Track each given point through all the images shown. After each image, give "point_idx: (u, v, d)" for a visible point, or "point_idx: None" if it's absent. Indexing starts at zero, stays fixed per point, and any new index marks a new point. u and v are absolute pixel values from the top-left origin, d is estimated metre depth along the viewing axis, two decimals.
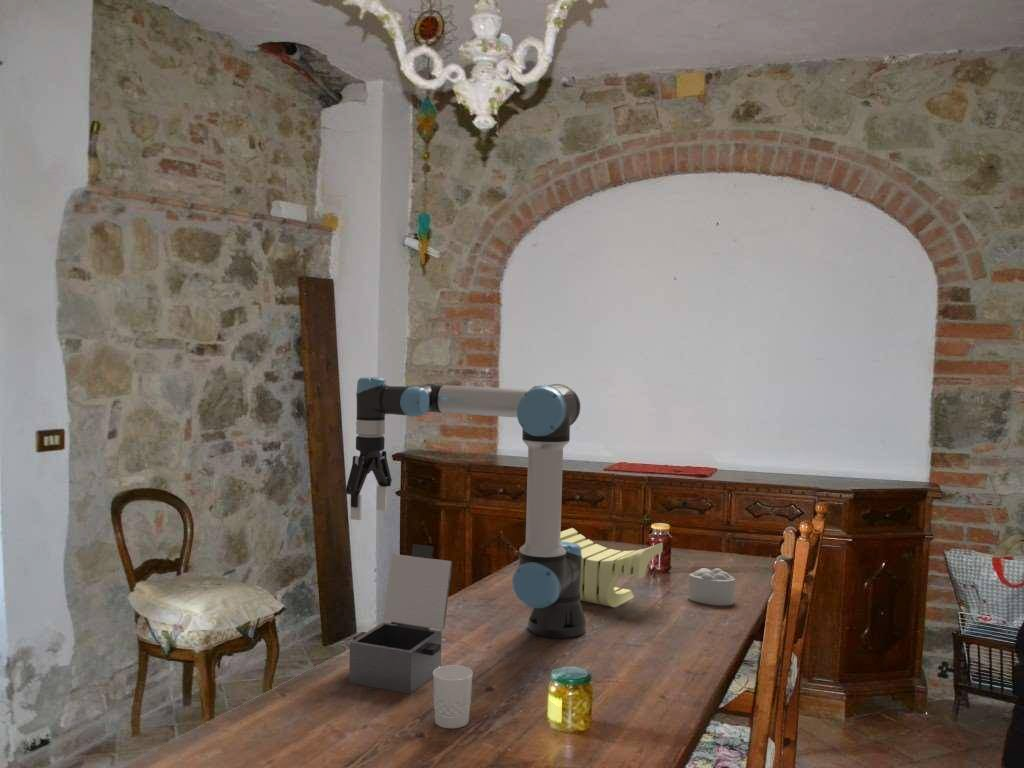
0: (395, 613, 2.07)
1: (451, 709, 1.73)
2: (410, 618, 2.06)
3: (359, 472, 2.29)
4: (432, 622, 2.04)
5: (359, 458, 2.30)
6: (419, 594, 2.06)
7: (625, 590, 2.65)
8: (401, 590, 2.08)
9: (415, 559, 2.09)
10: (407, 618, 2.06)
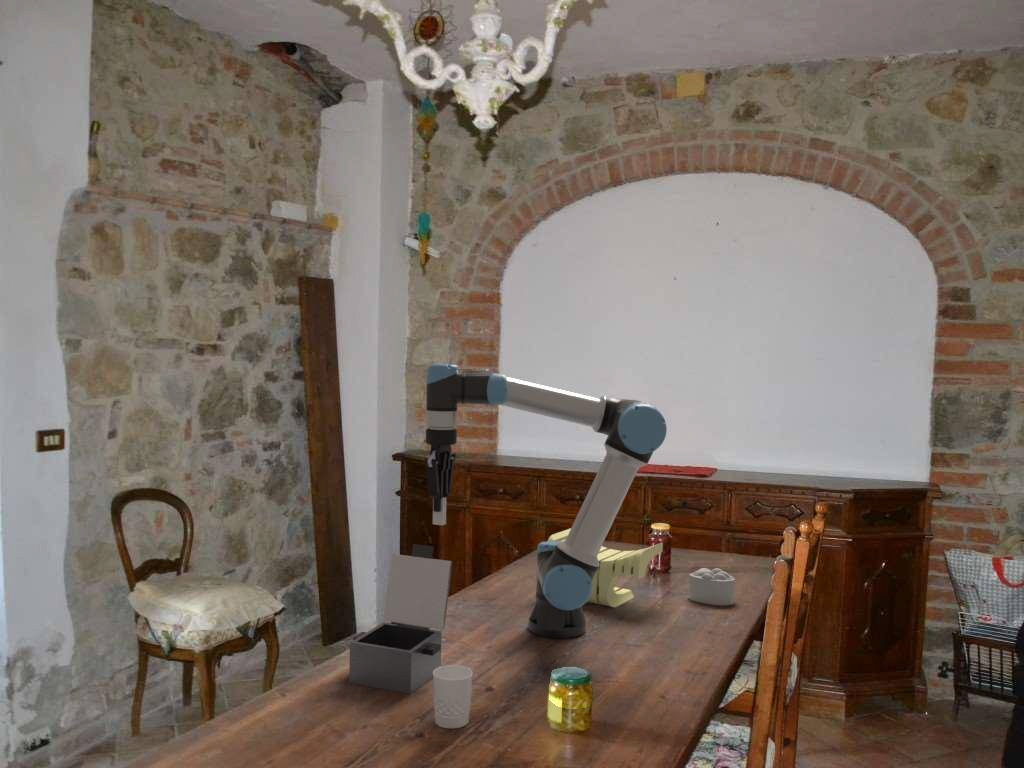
0: (395, 613, 2.07)
1: (451, 709, 1.73)
2: (410, 618, 2.06)
3: (436, 475, 2.12)
4: (432, 622, 2.04)
5: (432, 462, 2.10)
6: (419, 594, 2.06)
7: (625, 590, 2.65)
8: (401, 590, 2.08)
9: (415, 559, 2.09)
10: (407, 618, 2.06)
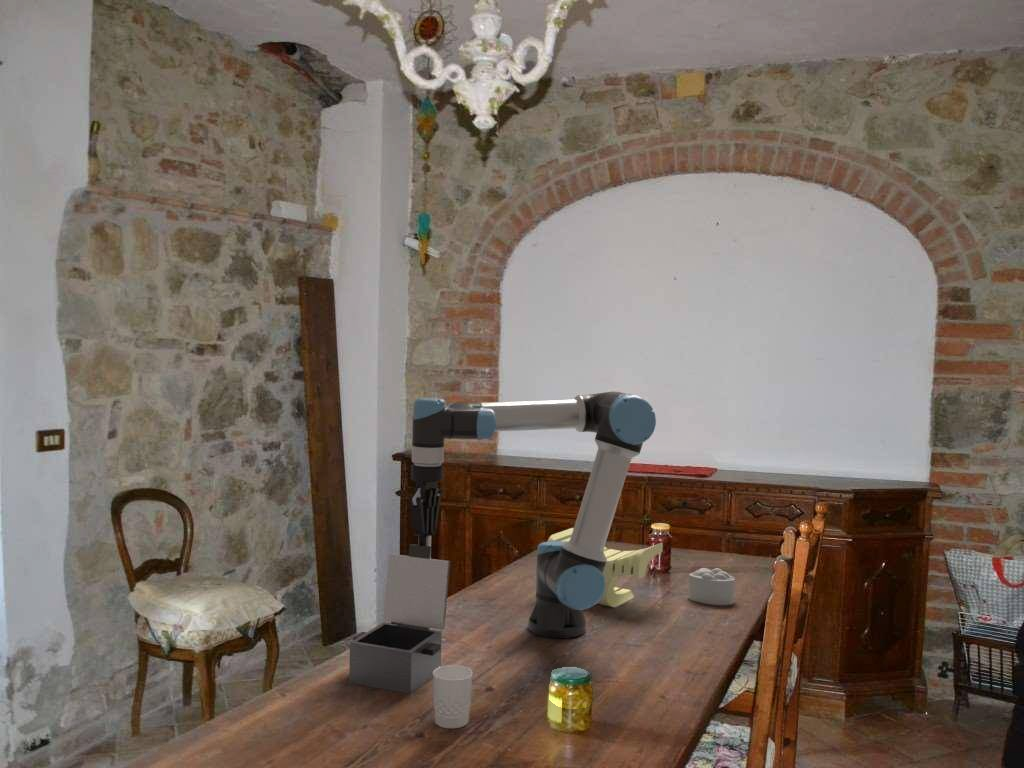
0: (395, 613, 2.07)
1: (451, 709, 1.73)
2: (410, 618, 2.06)
3: (421, 513, 2.05)
4: (432, 622, 2.04)
5: (417, 501, 2.04)
6: (418, 594, 2.06)
7: (625, 590, 2.65)
8: (400, 590, 2.08)
9: (413, 559, 2.07)
10: (407, 618, 2.06)
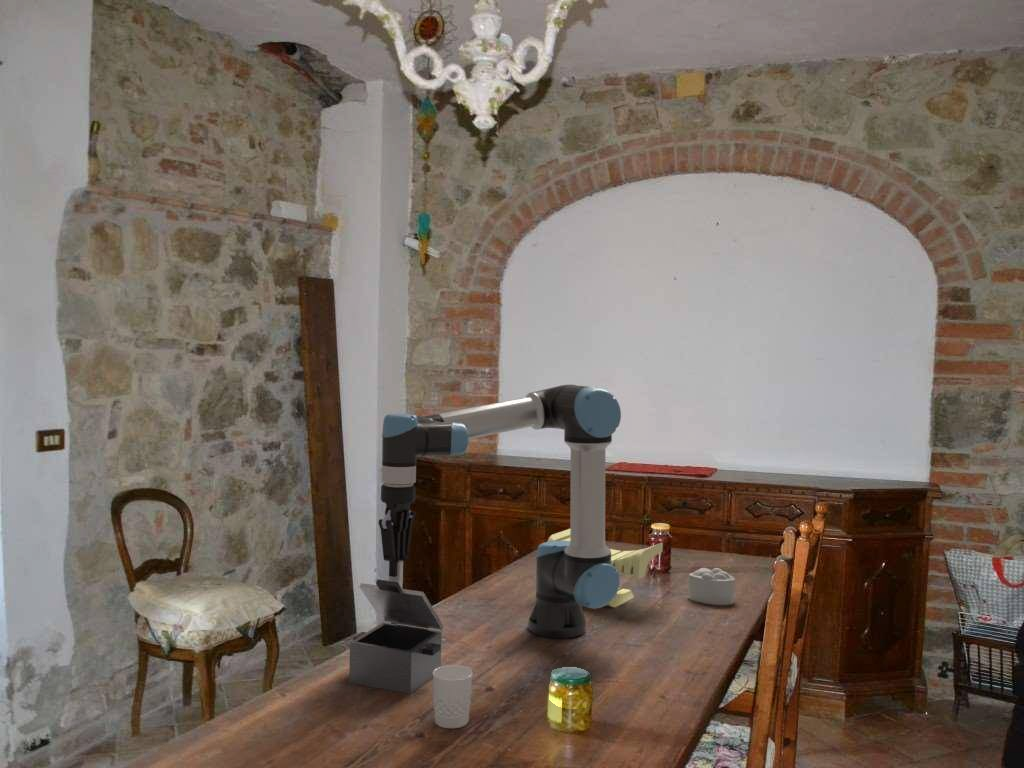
0: (391, 618, 2.06)
1: (451, 709, 1.73)
2: (407, 622, 2.05)
3: (392, 537, 1.92)
4: (429, 625, 2.03)
5: (386, 524, 1.90)
6: (405, 610, 2.00)
7: (625, 590, 2.65)
8: (386, 607, 2.02)
9: (385, 591, 1.95)
10: (404, 621, 2.05)
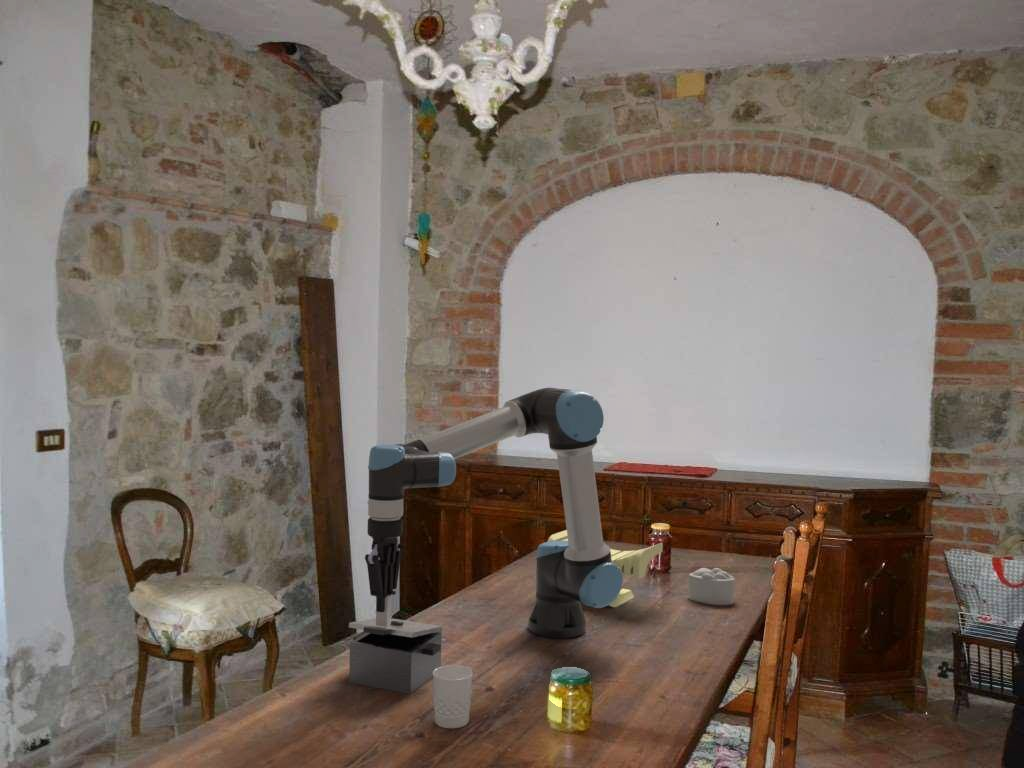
0: None
1: (451, 709, 1.73)
2: None
3: (379, 572, 1.87)
4: None
5: (373, 559, 1.86)
6: None
7: (625, 590, 2.65)
8: None
9: None
10: None
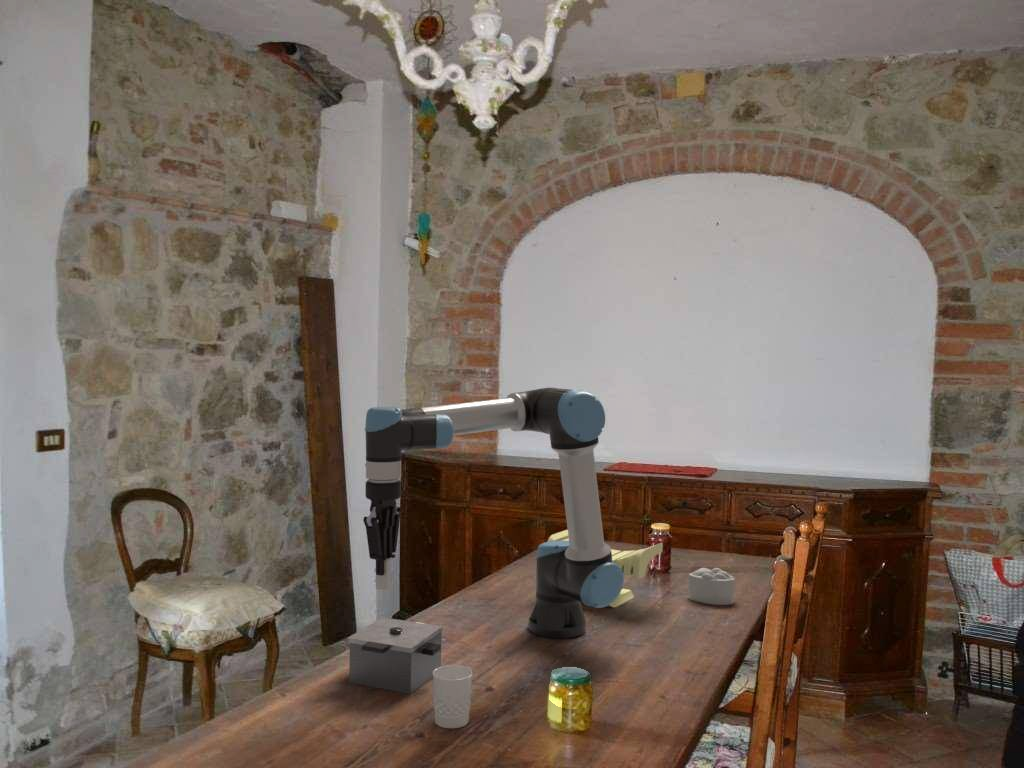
0: None
1: (451, 709, 1.73)
2: None
3: (378, 535, 1.86)
4: None
5: (371, 521, 1.84)
6: None
7: (625, 590, 2.65)
8: None
9: None
10: None
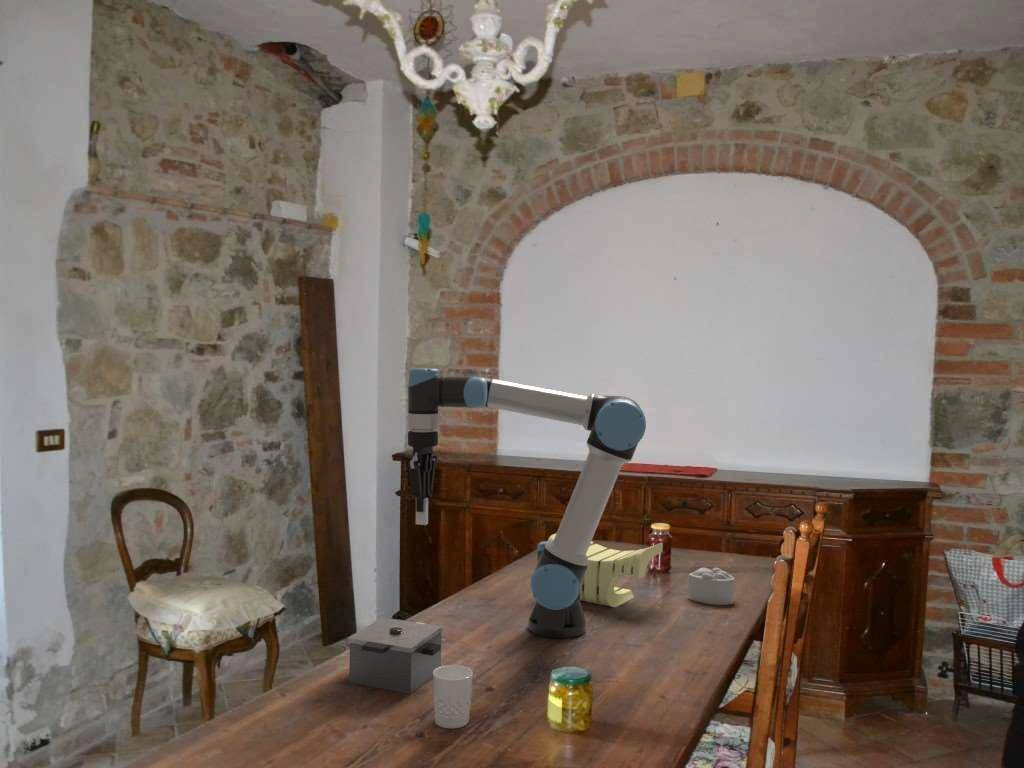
0: None
1: (451, 709, 1.73)
2: None
3: (419, 476, 2.17)
4: None
5: (414, 464, 2.16)
6: None
7: (625, 590, 2.65)
8: None
9: None
10: None
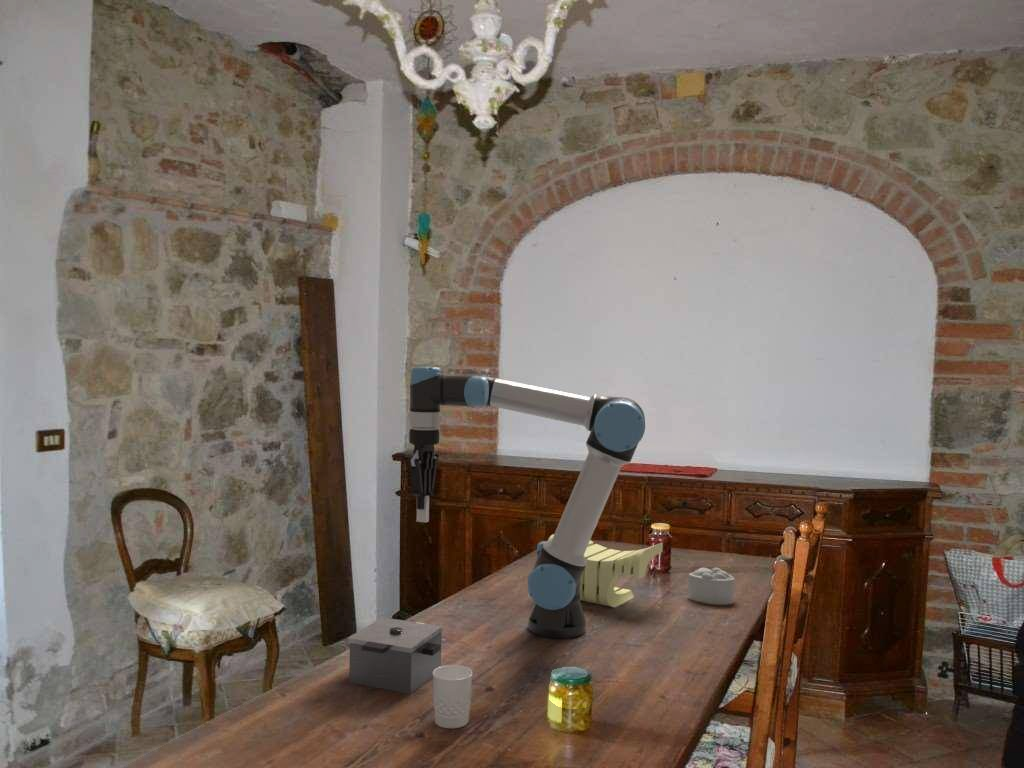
0: None
1: (451, 709, 1.73)
2: None
3: (420, 474, 2.19)
4: None
5: (415, 462, 2.17)
6: None
7: (625, 590, 2.65)
8: None
9: None
10: None
